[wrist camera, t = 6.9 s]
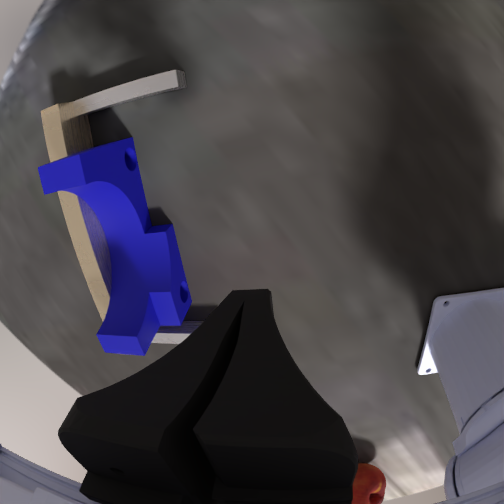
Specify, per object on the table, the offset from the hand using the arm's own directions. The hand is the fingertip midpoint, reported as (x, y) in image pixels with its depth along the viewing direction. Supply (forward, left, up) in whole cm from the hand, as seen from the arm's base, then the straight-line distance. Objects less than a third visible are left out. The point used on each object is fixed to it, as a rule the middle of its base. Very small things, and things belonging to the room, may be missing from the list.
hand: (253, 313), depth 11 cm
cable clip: (+9, 0, -10) cm, 13 cm away
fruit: (-7, +32, -10) cm, 35 cm away
